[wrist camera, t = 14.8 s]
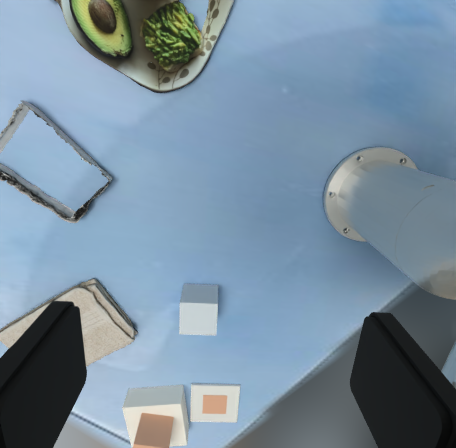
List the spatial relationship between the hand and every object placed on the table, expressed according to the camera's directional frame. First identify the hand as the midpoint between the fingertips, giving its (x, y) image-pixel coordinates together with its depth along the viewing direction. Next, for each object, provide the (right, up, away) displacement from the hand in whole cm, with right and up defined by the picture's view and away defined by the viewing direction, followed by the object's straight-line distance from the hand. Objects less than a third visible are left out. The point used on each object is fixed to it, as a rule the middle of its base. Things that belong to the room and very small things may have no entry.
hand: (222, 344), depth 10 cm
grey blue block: (-4, -7, +37) cm, 38 cm away
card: (-2, -26, +43) cm, 51 cm away
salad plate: (-9, +28, +25) cm, 39 cm away
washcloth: (-24, -12, +39) cm, 47 cm away
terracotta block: (-11, -28, +40) cm, 50 cm away
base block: (-11, -27, +44) cm, 53 cm away
